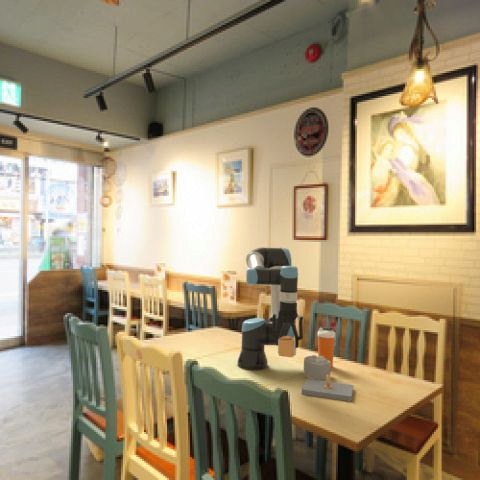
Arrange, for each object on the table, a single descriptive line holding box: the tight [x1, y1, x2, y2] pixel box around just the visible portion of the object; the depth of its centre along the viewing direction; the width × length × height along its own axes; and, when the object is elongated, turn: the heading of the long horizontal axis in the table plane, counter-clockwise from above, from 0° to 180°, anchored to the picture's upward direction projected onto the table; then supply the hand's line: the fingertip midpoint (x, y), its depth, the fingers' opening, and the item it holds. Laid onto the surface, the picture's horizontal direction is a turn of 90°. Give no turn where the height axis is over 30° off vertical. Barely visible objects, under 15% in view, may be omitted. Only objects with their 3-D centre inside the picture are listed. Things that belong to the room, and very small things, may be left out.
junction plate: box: [301, 374, 354, 402], centre depth 172 cm, size 20×14×7 cm
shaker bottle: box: [317, 325, 336, 369], centre depth 207 cm, size 9×9×20 cm
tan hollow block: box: [278, 336, 295, 358], centre depth 178 cm, size 6×6×8 cm
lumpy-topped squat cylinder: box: [303, 354, 332, 381], centre depth 193 cm, size 10×13×9 cm
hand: (286, 353), depth 178 cm, fingers closed on tan hollow block, 6 cm apart
